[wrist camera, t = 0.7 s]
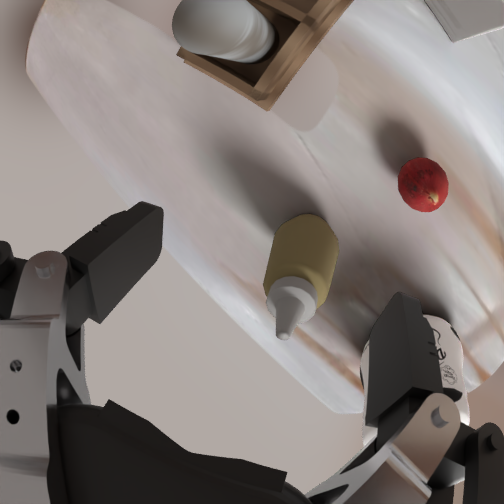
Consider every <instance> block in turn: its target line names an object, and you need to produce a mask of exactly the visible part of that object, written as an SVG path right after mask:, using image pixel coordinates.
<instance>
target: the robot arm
mask: <svg viewBox="0 0 504 504" xmlns="http://www.w3.org/2000/svg"><path fill="white" fill-rule="evenodd" d="M163 217H164V212H163V209H162V208H161V207H159V206H156V205H153V204H150V203H147V202H144V201H141V202H139V203H137V204H136V205H135V206H133V207H132V208H130V209H129V210H128V211H122V212H119V213H116V214H113V215H111V216H109V217H108V218H107V219H105V220H104V221H102V222H101V224H100V225H97V226H96V227H94V228H93V229H92V231H89V232H88V233H86V234H85V235H84V236H82V237H81V238H80V239H78V240H77V241H76V242H75V243H73V244H72V245H71V246H69V247H68V248H67V249H66V250H64V251H63V252H62V253H60V252H57V251H44V252H40V253H38V254H36V255H34V256H33V257H31V258H30V259H29V260H25V259H20V258H16V257H14V256H13V253H12V250H11V246H10V244H9V243H8V242H5V241H0V504H453V496H454V485H455V484H457V483H459V482H461V481H464V495H463V504H504V436H503V433H502V431H501V430H500V428H499V427H498V426H497V425H496V424H494V423H486V424H484V425H483V426H481V427H480V428H478V429H477V430H475V429H473V428H471V427H469V426H468V425H466V424H464V423H462V422H461V420H460V413H459V410H458V408H457V406H456V404H455V403H454V402H453V400H452V399H450V398H449V397H448V396H446V395H444V393H443V385H442V377H441V370H440V364H439V358H438V357H437V355H438V352H437V346H435V345H436V341H435V336H434V331H433V329H432V327H431V326H430V324H429V322H428V320H427V318H425V317H423V313H422V309H421V304H420V301H419V299H418V298H415V297H412V296H409V295H407V294H404V293H401V292H397V293H396V294H395V295H394V296H393V298H392V299H391V301H390V302H389V304H388V305H387V307H386V308H385V310H384V311H383V313H382V314H381V315H380V317H379V318H378V320H377V321H376V323H375V324H374V326H373V328H372V331H371V334H370V339H369V373H368V393H367V408H366V420H365V426H369V427H374V428H378V430H377V435H376V436H375V437H373V438H372V439H371V440H370V441H369V442H368V443H367V444H366V445H365V446H364V447H363V448H362V449H361V450H360V451H359V452H358V453H357V454H356V455H355V456H354V457H353V458H352V459H351V460H350V461H349V462H348V463H346V464H345V465H344V466H343V467H342V468H341V469H340V470H339V471H338V472H336V473H335V474H334V475H333V476H332V477H330V478H329V479H327V480H326V481H324V482H322V483H321V484H319V485H318V486H316V487H315V488H313V489H312V490H311V491H309V492H308V493H307V494H305V495H304V494H302V493H301V492H300V491H299V490H298V489H296V488H295V487H293V486H292V485H290V484H289V483H287V482H285V479H286V475H287V472H285V471H281V470H277V469H273V468H270V467H266V466H262V465H259V464H256V463H252V462H249V461H246V460H243V459H233V458H225V457H217V456H209V455H202V454H196V453H191V452H188V451H187V450H185V449H184V448H182V447H181V446H179V445H178V444H177V443H176V442H174V441H173V440H171V439H170V438H169V437H168V436H166V435H165V434H164V433H163V432H161V431H160V430H159V429H158V428H157V427H155V426H154V425H153V424H152V423H150V422H149V421H148V420H146V419H144V418H142V417H140V416H138V415H136V414H134V413H132V412H130V411H129V410H127V409H125V408H123V407H122V406H120V405H118V404H116V403H115V402H113V401H111V400H108V401H107V403H106V404H105V406H104V407H100V406H95V405H91V402H90V396H89V391H88V388H87V384H86V379H85V361H84V360H85V358H84V331H85V330H84V324H83V323H84V322H85V321H86V320H87V319H88V318H90V319H92V320H94V321H95V322H97V323H99V324H101V323H102V321H103V320H104V319H105V318H106V317H107V316H108V315H109V313H110V312H111V311H112V310H113V308H115V307H116V305H117V304H118V303H119V302H120V301H121V300H122V299H123V297H124V296H125V295H126V294H127V293H128V292H129V291H130V290H131V288H132V287H133V286H134V285H135V284H136V283H137V282H138V281H139V280H140V279H141V277H142V276H143V275H144V274H145V273H146V272H147V271H148V270H149V269H150V268H151V267H152V266H153V265H154V263H155V262H156V261H157V259H158V257H159V255H160V253H161V249H162V235H163Z"/></svg>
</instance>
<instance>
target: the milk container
mask: <svg viewBox="0 0 504 504" xmlns="http://www.w3.org/2000/svg"><path fill="white" fill-rule="evenodd" d="M423 317H425V318H427V320H428V322H429V324H430V326H431V327H432V329H433V331H434V336H435V341H436V345H435V346H437V352H438V355H437V357H438V358H439V364H440V370H441V377H442V385H443V393H444V395H446V396H448V397H449V398H450V399H452V400H453V402H454V403H455V404H456V406H457V408H458V410H459V413H460V420H461V422H462V423H464V424H466V425H469V421H470V414H469V404H468V401H467V392H466V388H465V383H464V379H463V373H462V369H463V349H462V345H461V342H460V339H459V337H458V335H457V333H456V331H455V330H454V328H453V327H452V326H451V325H450V324H449V323H448V322H446V321H445V320H443V319H442V318H440V317H437V316H433V315H428V314H423ZM368 373H369V340H368V342H367V343H366V345H365V348H364V350H363V354H362V358H361V363H360V377H361V381H362V385H363V389H364V393H365V402H364V411H363V425H362V438H363V443H364V446H365V445H366V444H367V443H368V442H369V441H370V440H371V439H372V438H373V437H375V436H376V435H377V430H378V428H374V427H369V426H365V420H366V408H367V393H368Z"/></svg>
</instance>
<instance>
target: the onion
mask: <svg viewBox="0 0 504 504" xmlns="http://www.w3.org/2000/svg"><path fill="white" fill-rule="evenodd" d="M398 190H399V192H400V194H401V196H402V198H403V200H404V201H405V202H406V203H407V204H408V205H409V206H410V207H411V208H413V209H415V210H418V211H421V212H432V211H434V210H436V209H438V208H439V207H440V206H441V205H442V204H443V203H444V201H445V199H446V197H447V195H448V180H447V176H446V173H445V172H444V170H443V169H442V168H441V167H440V166H439V164H438V163H436V162H434V161H432V160H430V159H428V158H419V157H418V158H415V159H412V160H409V161H408V162H407V163H406V164H405V165H404V166H402V168H401V170H400V173H399V175H398Z"/></svg>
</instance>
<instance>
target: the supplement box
mask: <svg viewBox="0 0 504 504" xmlns="http://www.w3.org/2000/svg"><path fill="white" fill-rule="evenodd" d="M424 1H425V2H426V3H427V5H428V6H429V7H430V9H431V10H432V12H433V13H434V14H435V16H436V17H437V19H438V20H439V22H440V23H441V25H442V26H443V28H444V29H445V31H446V32H447V34H448V36H449V37H450V39H451V41H452V42H453V43H457V42H460V41H463V40H466V39H469V38H472V37H475V36H479V35H482V34H485V33H489V32H492V31H496V30H499V29H503V28H504V0H424Z"/></svg>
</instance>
